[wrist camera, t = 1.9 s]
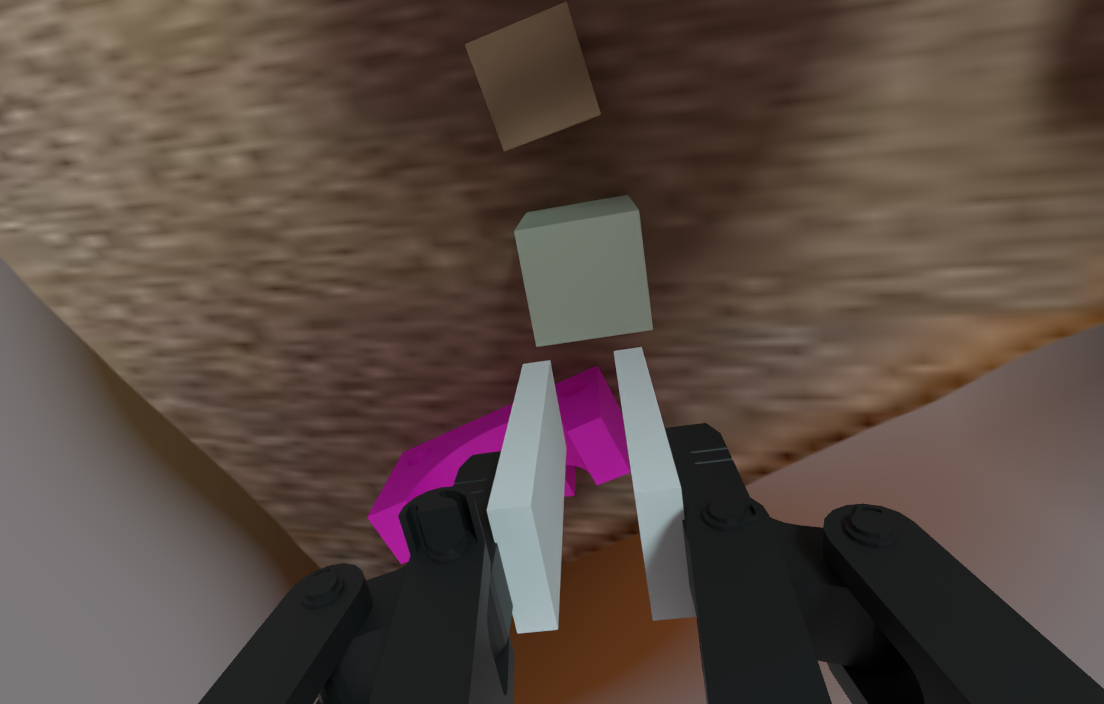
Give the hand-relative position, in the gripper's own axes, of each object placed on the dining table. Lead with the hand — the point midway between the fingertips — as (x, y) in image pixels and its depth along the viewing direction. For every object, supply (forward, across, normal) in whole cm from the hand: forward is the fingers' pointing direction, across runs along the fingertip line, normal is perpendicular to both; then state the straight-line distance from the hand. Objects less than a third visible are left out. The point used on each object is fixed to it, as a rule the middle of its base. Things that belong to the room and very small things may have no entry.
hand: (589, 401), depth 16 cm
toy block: (+21, -6, -12) cm, 25 cm away
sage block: (+21, 0, 0) cm, 21 cm away
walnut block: (+21, -1, +10) cm, 23 cm away
